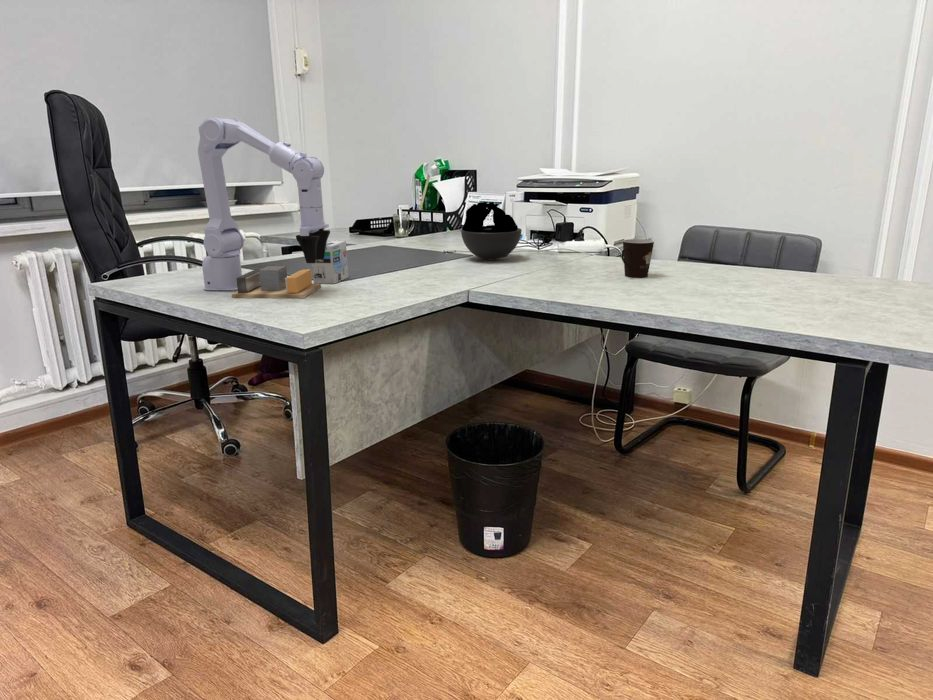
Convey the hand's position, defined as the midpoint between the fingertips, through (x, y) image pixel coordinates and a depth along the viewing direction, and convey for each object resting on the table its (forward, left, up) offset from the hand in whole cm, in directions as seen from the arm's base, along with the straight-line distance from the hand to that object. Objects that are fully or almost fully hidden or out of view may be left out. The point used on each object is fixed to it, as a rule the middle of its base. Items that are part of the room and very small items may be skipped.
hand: (315, 260), depth 170 cm
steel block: (-12, 0, -7) cm, 14 cm away
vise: (-12, 0, -8) cm, 14 cm away
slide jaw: (-5, 0, -7) cm, 9 cm away
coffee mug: (+84, +25, -9) cm, 89 cm away
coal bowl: (+42, +54, -9) cm, 69 cm away
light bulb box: (-2, +17, -9) cm, 19 cm away
